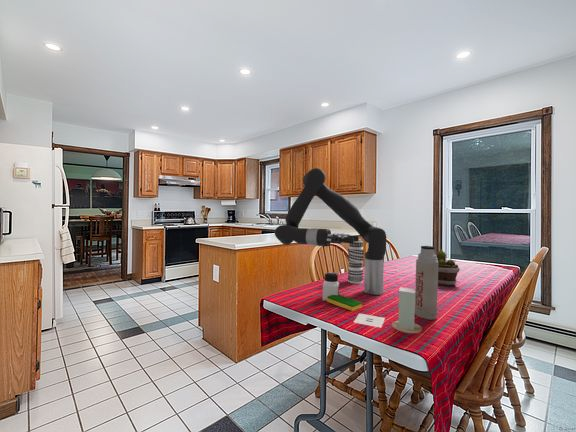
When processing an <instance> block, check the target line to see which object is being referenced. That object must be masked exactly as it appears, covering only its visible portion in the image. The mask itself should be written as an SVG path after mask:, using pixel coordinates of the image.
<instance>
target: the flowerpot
mask: <svg viewBox="0 0 576 432" xmlns="http://www.w3.org/2000/svg"><path fill="white" fill-rule="evenodd" d="M435 255H436V256H437V261H438V286H443V287H453V286H455V285H456V284H457V277H458V273H459V272H460V267H459V265H458V264H456V261H455V259H452V257H451V258H449V259H448V255H447V254H446V252H445V251H444V250H443V249H440V250H438V251H437V252H436V254H435Z"/></svg>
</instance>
